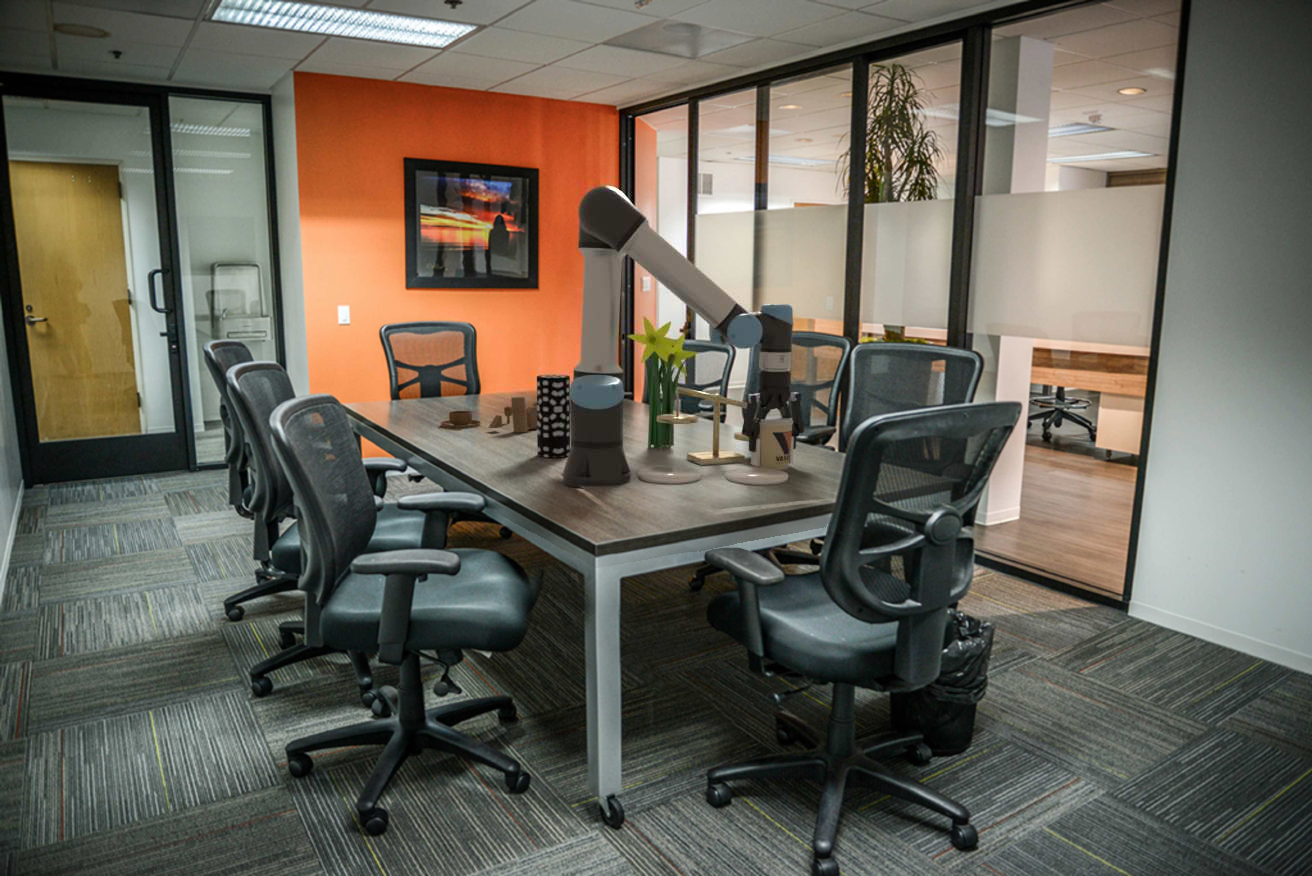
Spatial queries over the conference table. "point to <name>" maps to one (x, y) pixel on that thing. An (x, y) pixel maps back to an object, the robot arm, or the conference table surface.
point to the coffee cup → (775, 442)
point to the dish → (756, 476)
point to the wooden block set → (519, 416)
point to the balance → (716, 455)
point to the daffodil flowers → (661, 378)
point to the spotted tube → (553, 415)
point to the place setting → (467, 419)
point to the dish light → (669, 475)
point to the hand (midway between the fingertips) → (772, 463)
